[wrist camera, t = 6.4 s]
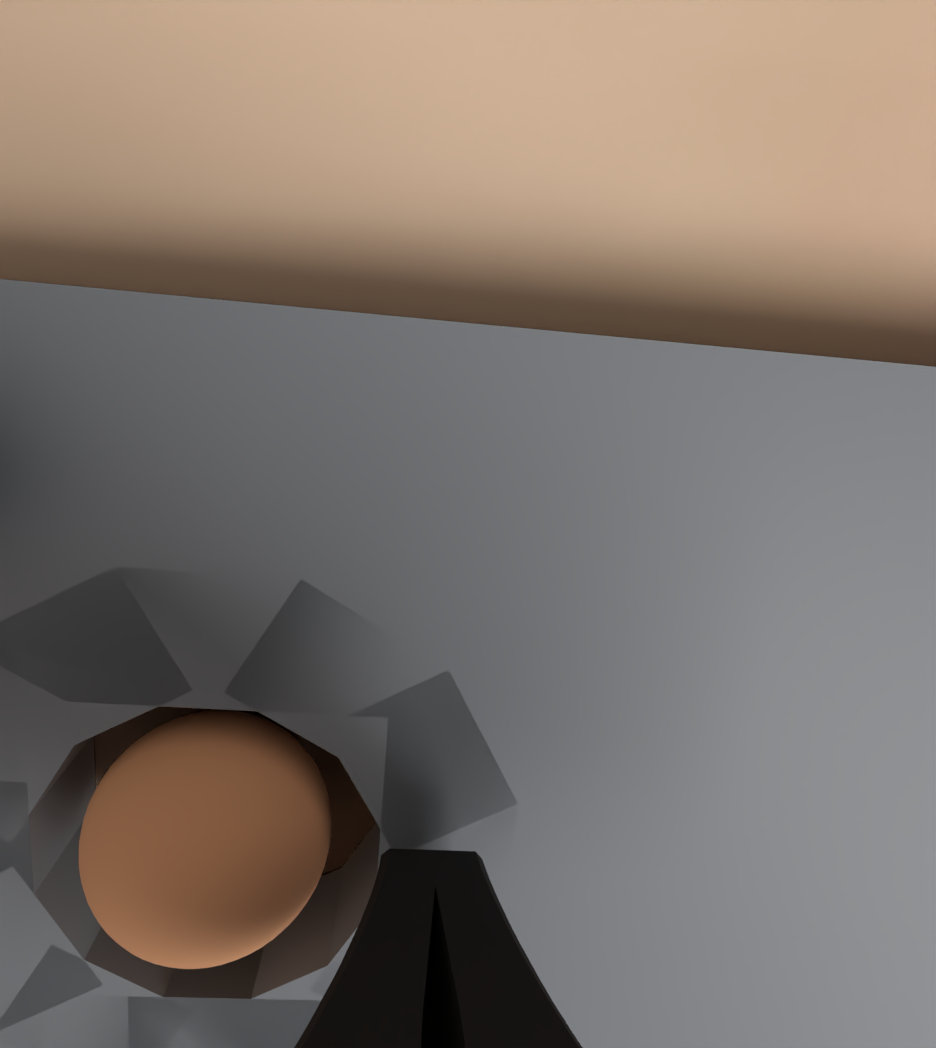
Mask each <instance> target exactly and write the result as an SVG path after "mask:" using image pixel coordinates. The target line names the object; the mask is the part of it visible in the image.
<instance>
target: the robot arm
mask: <svg viewBox="0 0 936 1048" xmlns="http://www.w3.org/2000/svg"><path fill="white" fill-rule="evenodd" d="M294 1048H582V1046H581V1045H580V1043H579V1042H578V1040H577V1039H576V1037H575V1036H574V1034H573V1033H572V1031H571V1029H570V1028H569V1026H568V1025H567V1023H566V1021H565V1020H564V1018H563V1017H562V1015H561V1014H560V1012H559V1010H558V1009H557V1007H556V1006H555V1004H554V1002H553V1001H552V999H551V997H550V996H549V994H548V992H547V991H546V989H545V987H544V986H543V984H542V982H541V981H540V979H539V977H538V975H537V973H536V971H535V970H534V968H533V966H532V964H531V962H530V961H529V959H528V957H527V955H526V953H525V952H524V950H523V948H522V946H521V944H520V942H519V941H518V939H517V937H516V935H515V933H514V931H513V929H512V927H511V925H510V923H509V921H508V919H507V917H506V914H505V912H504V910H503V908H502V906H501V904H500V902H499V900H498V897H497V895H496V893H495V891H494V888H493V886H492V884H491V881H490V879H489V876H488V874H487V871H486V868H485V866H484V863H483V860H482V858H481V857H480V856H479V855H478V854H477V852H476V851H451V850H423V849H394V848H389V849H388V850H387V851H386V852H384V853H383V854H382V855H381V858H380V865H379V869H378V873H377V877H376V880H375V883H374V887H373V890H372V892H371V895H370V898H369V901H368V903H367V906H366V908H365V911H364V913H363V916H362V918H361V921H360V923H359V925H358V928H357V930H356V932H355V934H354V936H353V938H352V941H351V943H350V945H349V947H348V949H347V951H346V954H345V956H344V958H343V960H342V962H341V964H340V966H339V968H338V970H337V972H336V974H335V976H334V978H333V980H332V982H331V983H330V985H329V987H328V989H327V991H326V993H325V994H324V996H323V998H322V1000H321V1002H320V1004H319V1005H318V1007H317V1009H316V1011H315V1013H314V1015H313V1016H312V1018H311V1020H310V1022H309V1024H308V1025H307V1027H306V1029H305V1030H304V1032H303V1034H302V1035H301V1037H300V1039H299V1040H298V1042H297V1044H296V1045H295V1047H294Z"/></svg>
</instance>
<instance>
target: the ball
mask: <svg viewBox="0 0 936 1048" xmlns="http://www.w3.org/2000/svg"><path fill="white" fill-rule="evenodd" d="M331 828H332V827H331V809H330V802H329V797H328V792H327V789H326V786H325V783H324V780H323V778H322V775H321V772H320V771H319V769H318V767H317V765H316V764H315V762H314V760H313V759H312V757H311V755H310V754H309V753H308V752H307V750H306V749H305V748H304V747H303V745H302V744H301V743H299V742H298V741H297V740H296V739H295V738H294V737H293V736H292V735H291V734H289V733H288V732H287V731H285V730H284V729H282V728H281V727H280V726H278V725H276V724H274V723H272V722H270V721H268V720H266V719H264V718H261V717H258V716H255V715H252V714H247V713H243V712H236V711H226V710H225V711H206V712H198V713H193V714H189V715H185V716H181V717H179V718H176V719H173V720H171V721H168V722H166V723H164V724H162V725H160V726H158V727H156V728H154V729H153V730H151V731H150V732H148V733H146V734H145V735H143V736H142V737H141V738H139V739H138V740H137V741H135V742H134V743H133V744H132V745H131V746H129V747H128V748H127V749H126V750H125V751H124V752H123V753H122V754H121V755H120V756H119V757H118V758H117V759H116V760H115V761H114V763H113V764H112V765H111V766H110V768H109V769H108V771H107V772H106V773H105V775H104V776H103V778H102V779H101V780H100V782H99V784H98V786H97V788H96V790H95V792H94V794H93V796H92V798H91V800H90V802H89V804H88V807H87V810H86V813H85V816H84V819H83V824H82V829H81V834H80V839H79V871H80V878H81V883H82V887H83V890H84V893H85V896H86V900H87V903H88V905H89V907H90V909H91V911H92V913H93V914H94V916H95V918H96V919H97V921H98V923H99V924H100V925H101V927H102V928H103V929H104V931H105V932H106V933H107V934H108V935H109V936H110V937H111V938H112V939H113V940H114V941H115V942H116V943H118V944H119V945H120V946H121V947H123V948H124V949H126V950H127V951H128V952H130V953H131V954H133V955H135V956H137V957H139V958H141V959H142V960H145V961H148V962H151V963H153V964H157V965H161V966H165V967H170V968H179V969H200V968H209V967H214V966H219V965H223V964H226V963H229V962H232V961H235V960H238V959H240V958H242V957H245V956H247V955H249V954H251V953H253V952H255V951H256V950H258V949H260V948H262V947H263V946H264V945H266V944H267V943H269V942H270V941H272V940H273V939H274V938H275V937H276V936H277V935H279V934H280V933H281V932H282V931H283V930H284V929H285V928H286V927H287V926H289V924H290V923H291V922H292V921H293V920H294V919H295V918H296V917H297V916H298V914H299V913H300V912H301V910H302V909H303V907H304V906H305V905H306V903H307V902H308V900H309V899H310V897H311V895H312V893H313V892H314V890H315V888H316V886H317V884H318V882H319V879H320V877H321V874H322V872H323V869H324V866H325V864H326V860H327V856H328V852H329V846H330V838H331Z"/></svg>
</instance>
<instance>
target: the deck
mask: <svg viewBox="0 0 936 1048" xmlns="http://www.w3.org/2000/svg"><path fill="white" fill-rule="evenodd" d="M158 706H163V707H183V708H202V709H222V710H241V711H258V712H259V713H261V714H263V715H265V716H266V717H268V718H270V719H272V720H273V721H275V722H277V723H279V724H280V725H282V726H284V727H286V728H287V729H289V730H291V731H293V732H294V733H296V734H298V735H300V736H301V737H303V738H305V739H307V740H308V741H310V742H312V743H314V744H316V745H317V746H319V747H321V748H323V749H324V750H326V751H328V752H330V753H331V754H333V755H335V756H337V757H338V758H339V759H340V761H341V763H342V764H343V766H344V768H345V770H346V771H347V773H348V775H349V776H350V778H351V780H352V782H353V783H354V785H355V787H356V788H357V790H358V792H359V793H360V795H361V797H362V799H363V800H364V802H365V804H366V805H367V807H368V809H369V810H370V812H371V814H372V816H373V817H374V819H375V821H376V823H375V824H374V826H373V827H372V828H371V830H370V831H369V832H368V834H367V835H366V836H365V838H364V839H363V840H362V842H361V843H360V844H359V845H358V847H357V848H356V849H355V851H354V852H353V853H352V855H351V856H350V857H349V859H348V860H347V861H346V863H345V864H344V865H343V867H342V868H339V869H337V870H335V871H333V872H330V873H328V874H326V875H323V876H321V877H320V879H319V882H318V884H317V886H316V888H315V890H314V892H313V893H312V895H311V897H310V899H309V900H308V902H307V903H306V905H305V906H304V907H303V909H302V910H301V912H300V913H299V914H298V916H297V917H296V918H295V919H294V920H293V921H292V922H291V923H290V924H289V926H287V927H286V928H285V929H284V930H283V931H282V932H281V933H280V934H279V935H277V936H276V937H275V938H274V939H273V940H272V941H270V942H269V943H267V944H266V945H264V946H263V947H262V948H260V949H258V950H256V951H255V952H253V953H251V954H249V955H247V956H245V957H242V958H240V959H238V960H235V961H232V962H229V963H226V964H223V965H219V966H214V967H209V968H200V969H179V968H170V967H165V966H161V965H157V964H153V963H151V962H148V961H145V960H142V959H141V958H139V957H137V956H135V955H133V954H131V953H130V952H128V951H127V950H126V949H124V948H123V947H121V946H120V945H119V944H118V943H116V942H115V941H114V940H113V939H112V938H111V937H110V936H109V935H108V934H107V933H106V932H105V931H104V929H103V928H102V927H101V925H100V924H99V923H98V921H97V919H96V918H95V916H94V914H93V913H92V911H91V909H90V907H89V905H88V903H87V900H86V896H85V893H84V890H83V887H82V883H81V878H80V871H79V839H80V834H81V829H82V824H83V819H84V816H85V813H86V810H87V807H88V804H89V802H90V800H91V798H92V796H93V794H94V792H95V790H96V786H95V760H94V736H95V735H98V734H100V733H102V732H104V731H106V730H108V729H111V728H113V727H115V726H117V725H119V724H121V723H124V722H126V721H128V720H130V719H132V718H135V717H137V716H139V715H141V714H143V713H145V712H148V711H150V710H152V709H154V708H156V707H158ZM389 848H394V849H423V850H451V851H476V852H477V854H478V855H479V856H480V857H481V858H482V860H483V863H484V866H485V868H486V871H487V874H488V876H489V879H490V881H491V884H492V886H493V888H494V891H495V893H496V895H497V897H498V900H499V902H500V904H501V906H502V908H503V910H504V912H505V914H506V917H507V919H508V921H509V923H510V925H511V927H512V929H513V931H514V933H515V935H516V937H517V939H518V941H519V942H520V944H521V946H522V948H523V950H524V952H525V953H526V955H527V957H528V959H529V961H530V962H531V964H532V966H533V968H534V970H535V971H536V973H537V975H538V977H539V979H540V981H541V982H542V984H543V986H544V987H545V989H546V991H547V992H548V994H549V996H550V997H551V999H552V1001H553V1002H554V1004H555V1006H556V1007H557V1009H558V1010H559V1012H560V1014H561V1015H562V1017H563V1018H564V1020H565V1021H566V1023H567V1025H568V1026H569V1028H570V1029H571V1031H572V1033H573V1034H574V1036H575V1037H576V1039H577V1040H578V1042H579V1043H580V1045H581V1046H582V1048H936V367H933V366H922V365H912V364H901V363H890V362H880V361H869V360H858V359H848V358H837V357H826V356H816V355H805V354H795V353H784V352H773V351H763V350H752V349H741V348H731V347H720V346H709V345H699V344H688V343H677V342H667V341H656V340H645V339H635V338H624V337H613V336H603V335H592V334H581V333H571V332H560V331H549V330H539V329H528V328H517V327H507V326H496V325H485V324H475V323H464V322H453V321H443V320H432V319H422V318H411V317H400V316H390V315H379V314H368V313H358V312H347V311H336V310H326V309H315V308H304V307H294V306H283V305H272V304H262V303H251V302H240V301H230V300H219V299H208V298H198V297H187V296H176V295H166V294H155V293H144V292H134V291H123V290H112V289H102V288H91V287H80V286H70V285H59V284H48V283H38V282H27V281H17V280H6V279H0V1048H294V1047H295V1045H296V1044H297V1042H298V1040H299V1039H300V1037H301V1035H302V1034H303V1032H304V1030H305V1029H306V1027H307V1025H308V1024H309V1022H310V1020H311V1018H312V1016H313V1015H314V1013H315V1011H316V1009H317V1007H318V1005H319V1004H320V1002H321V1000H322V998H323V996H324V994H325V993H326V991H327V989H328V987H329V985H330V983H331V982H332V980H333V978H334V976H335V974H336V972H337V970H338V968H339V966H340V964H341V962H342V960H343V958H344V956H345V954H346V951H347V949H348V947H349V945H350V943H351V941H352V938H353V936H354V934H355V932H356V930H357V928H358V925H359V923H360V921H361V918H362V916H363V913H364V911H365V908H366V906H367V903H368V901H369V898H370V895H371V892H372V890H373V887H374V883H375V880H376V877H377V873H378V869H379V865H380V858H381V855H382V854H383V853H384V852H386V851H387V850H388V849H389Z"/></svg>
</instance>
